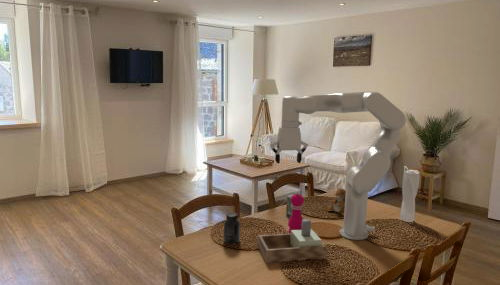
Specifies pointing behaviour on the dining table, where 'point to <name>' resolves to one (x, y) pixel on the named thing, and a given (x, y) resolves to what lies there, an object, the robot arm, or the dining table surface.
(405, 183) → the skyscraper
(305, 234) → the base with upright peg
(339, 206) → the stuffed squirrel
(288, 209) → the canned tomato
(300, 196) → the pepper mill
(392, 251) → the dining table surface
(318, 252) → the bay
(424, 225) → the dining table surface
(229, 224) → the supplement bottle
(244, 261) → the dining table surface
